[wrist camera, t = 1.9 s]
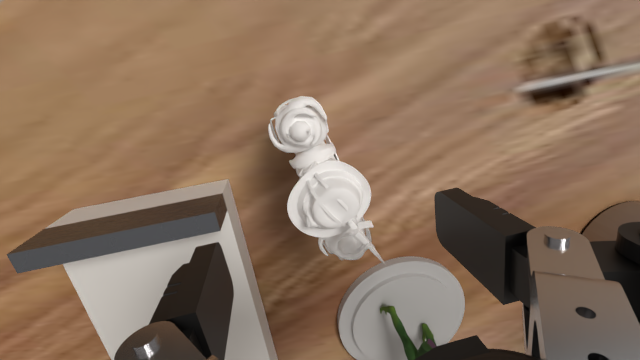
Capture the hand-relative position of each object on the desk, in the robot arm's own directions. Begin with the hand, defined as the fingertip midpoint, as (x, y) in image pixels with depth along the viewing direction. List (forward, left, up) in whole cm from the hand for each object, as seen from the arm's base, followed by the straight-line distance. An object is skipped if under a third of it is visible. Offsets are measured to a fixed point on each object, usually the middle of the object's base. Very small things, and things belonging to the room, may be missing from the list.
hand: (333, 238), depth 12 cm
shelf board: (+11, +11, -13) cm, 20 cm away
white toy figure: (0, 0, -13) cm, 13 cm away
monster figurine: (-6, +17, -13) cm, 22 cm away
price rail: (+11, +1, -10) cm, 15 cm away
